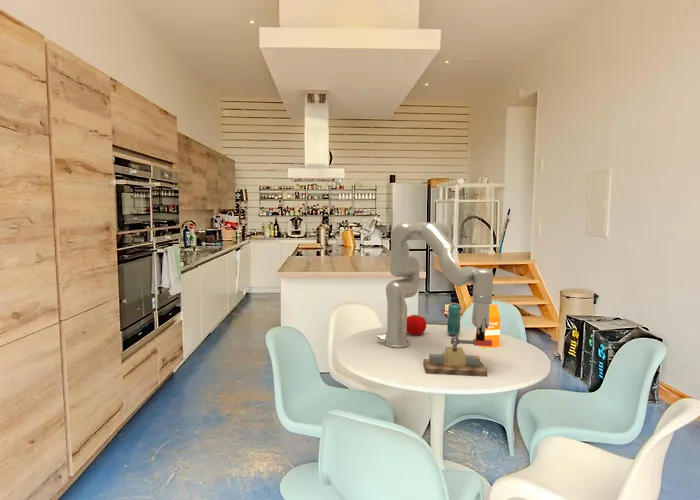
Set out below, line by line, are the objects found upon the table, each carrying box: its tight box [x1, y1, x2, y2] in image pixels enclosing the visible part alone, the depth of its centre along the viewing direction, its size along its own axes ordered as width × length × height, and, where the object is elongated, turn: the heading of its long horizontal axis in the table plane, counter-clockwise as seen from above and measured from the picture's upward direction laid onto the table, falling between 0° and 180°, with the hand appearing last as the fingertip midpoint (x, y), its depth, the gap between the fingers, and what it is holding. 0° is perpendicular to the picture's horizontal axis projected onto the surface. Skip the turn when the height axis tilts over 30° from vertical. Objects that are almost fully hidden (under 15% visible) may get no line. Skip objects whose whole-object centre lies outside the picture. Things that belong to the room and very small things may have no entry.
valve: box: [428, 344, 481, 368], centre depth 180 cm, size 20×6×9 cm, turn 85°
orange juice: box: [474, 304, 502, 349], centre depth 214 cm, size 8×9×20 cm
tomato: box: [407, 314, 427, 336], centre depth 233 cm, size 12×12×10 cm
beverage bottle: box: [446, 297, 462, 335], centre depth 230 cm, size 6×7×20 cm
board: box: [422, 358, 488, 377], centre depth 180 cm, size 24×12×2 cm, turn 85°
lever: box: [450, 335, 492, 347], centre depth 179 cm, size 3×16×3 cm, turn 85°
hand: (480, 343), depth 182 cm, fingers closed
